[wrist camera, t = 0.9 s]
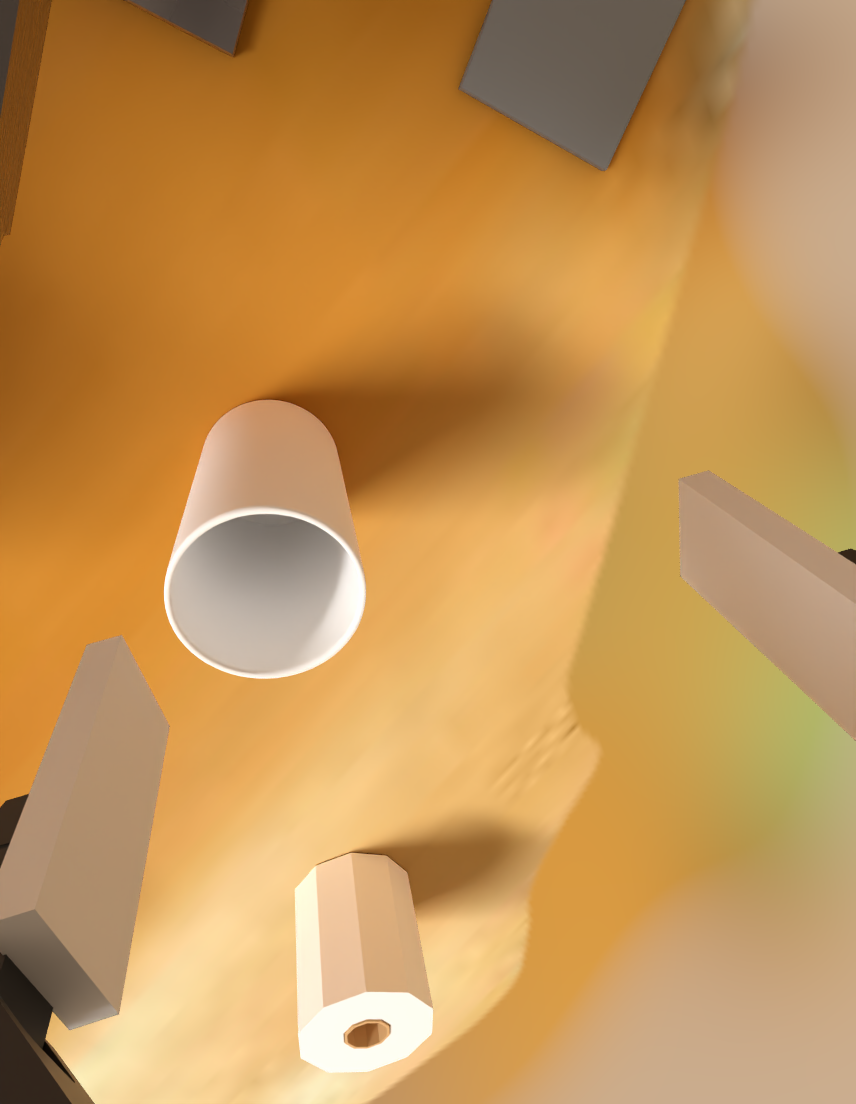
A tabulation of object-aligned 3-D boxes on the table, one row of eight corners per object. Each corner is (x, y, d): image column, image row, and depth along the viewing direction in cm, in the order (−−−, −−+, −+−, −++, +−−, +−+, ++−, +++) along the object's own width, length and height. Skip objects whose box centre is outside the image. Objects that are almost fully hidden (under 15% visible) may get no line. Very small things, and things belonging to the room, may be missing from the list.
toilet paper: (419, 908, 65) (446, 1048, 54) (311, 941, 64) (317, 1089, 53) (396, 838, 60) (421, 976, 49) (278, 872, 59) (278, 1020, 49)
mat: (458, 88, 35) (460, 87, 35) (538, -122, 32) (542, -127, 32) (601, 170, 38) (606, 170, 38) (687, -14, 35) (693, -18, 35)
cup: (302, 376, 40) (314, 474, 27) (360, 493, 45) (396, 632, 31) (175, 434, 41) (120, 561, 27) (243, 545, 45) (227, 707, 31)
